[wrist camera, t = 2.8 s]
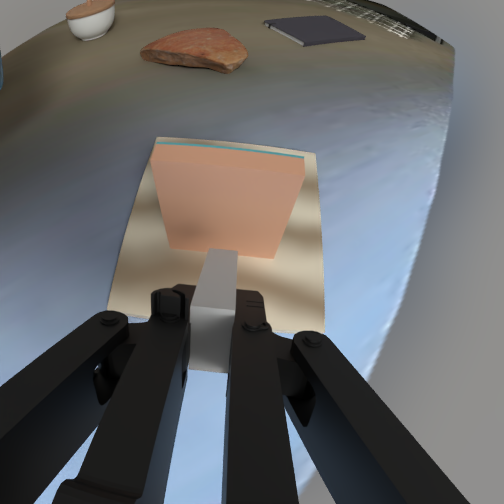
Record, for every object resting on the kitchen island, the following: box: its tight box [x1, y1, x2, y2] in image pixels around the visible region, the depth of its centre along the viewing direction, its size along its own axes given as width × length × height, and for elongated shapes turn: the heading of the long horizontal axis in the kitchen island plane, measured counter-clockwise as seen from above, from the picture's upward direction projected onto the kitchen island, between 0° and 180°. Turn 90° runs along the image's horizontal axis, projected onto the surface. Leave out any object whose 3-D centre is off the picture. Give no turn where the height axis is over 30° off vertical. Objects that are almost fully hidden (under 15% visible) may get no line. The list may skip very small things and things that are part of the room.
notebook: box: [264, 16, 366, 47], centre depth 55 cm, size 13×2×21 cm
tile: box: [150, 142, 305, 259], centre depth 22 cm, size 2×9×11 cm, turn 86°
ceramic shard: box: [140, 28, 248, 74], centre depth 42 cm, size 15×6×15 cm
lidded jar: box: [66, 0, 115, 41], centre depth 44 cm, size 11×11×9 cm
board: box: [107, 137, 325, 334], centre depth 29 cm, size 20×18×1 cm
